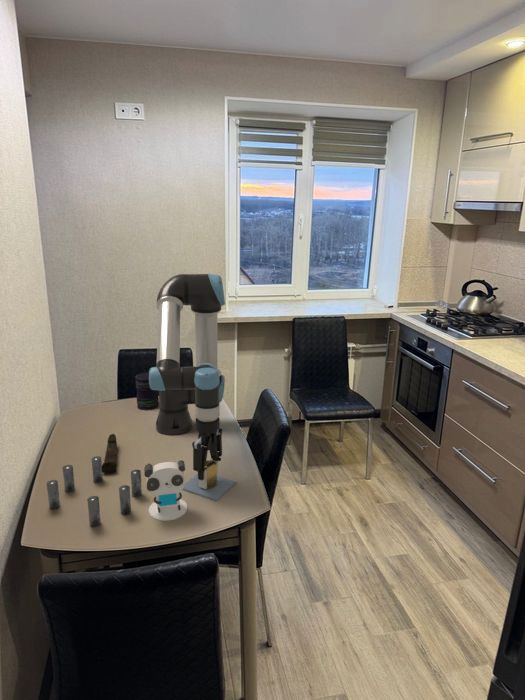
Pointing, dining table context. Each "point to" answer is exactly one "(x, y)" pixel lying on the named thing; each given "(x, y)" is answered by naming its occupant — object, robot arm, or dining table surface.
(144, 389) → the storage jar
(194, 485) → the slate board
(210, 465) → the gold metal cylinder
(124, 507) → the spacer posts
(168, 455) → the dining table surface
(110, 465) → the hand tool
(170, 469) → the panda figurine
